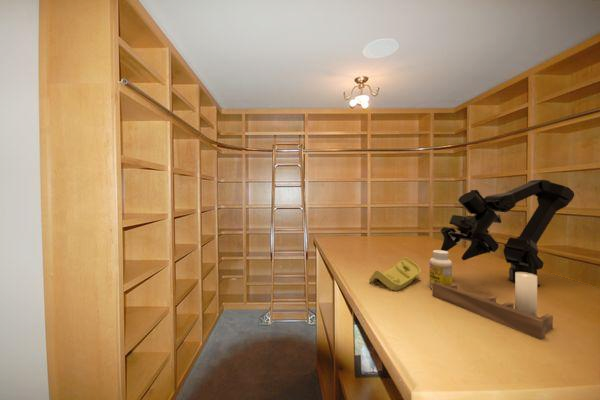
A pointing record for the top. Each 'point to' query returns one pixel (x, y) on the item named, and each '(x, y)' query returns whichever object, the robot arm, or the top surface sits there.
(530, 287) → the white pillar candle
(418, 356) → the top surface
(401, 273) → the plastic component
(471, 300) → the walnut holder rail
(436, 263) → the supplement bottle
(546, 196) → the robot arm
